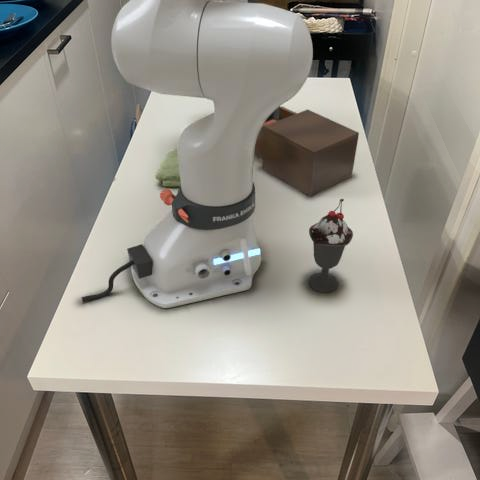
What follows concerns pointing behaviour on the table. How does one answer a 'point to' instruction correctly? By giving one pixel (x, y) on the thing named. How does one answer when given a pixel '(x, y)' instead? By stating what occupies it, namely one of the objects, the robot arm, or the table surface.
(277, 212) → the table surface
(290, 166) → the cabinet
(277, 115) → the drawer
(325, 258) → the sundae
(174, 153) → the washcloth
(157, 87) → the robot arm
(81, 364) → the table surface
